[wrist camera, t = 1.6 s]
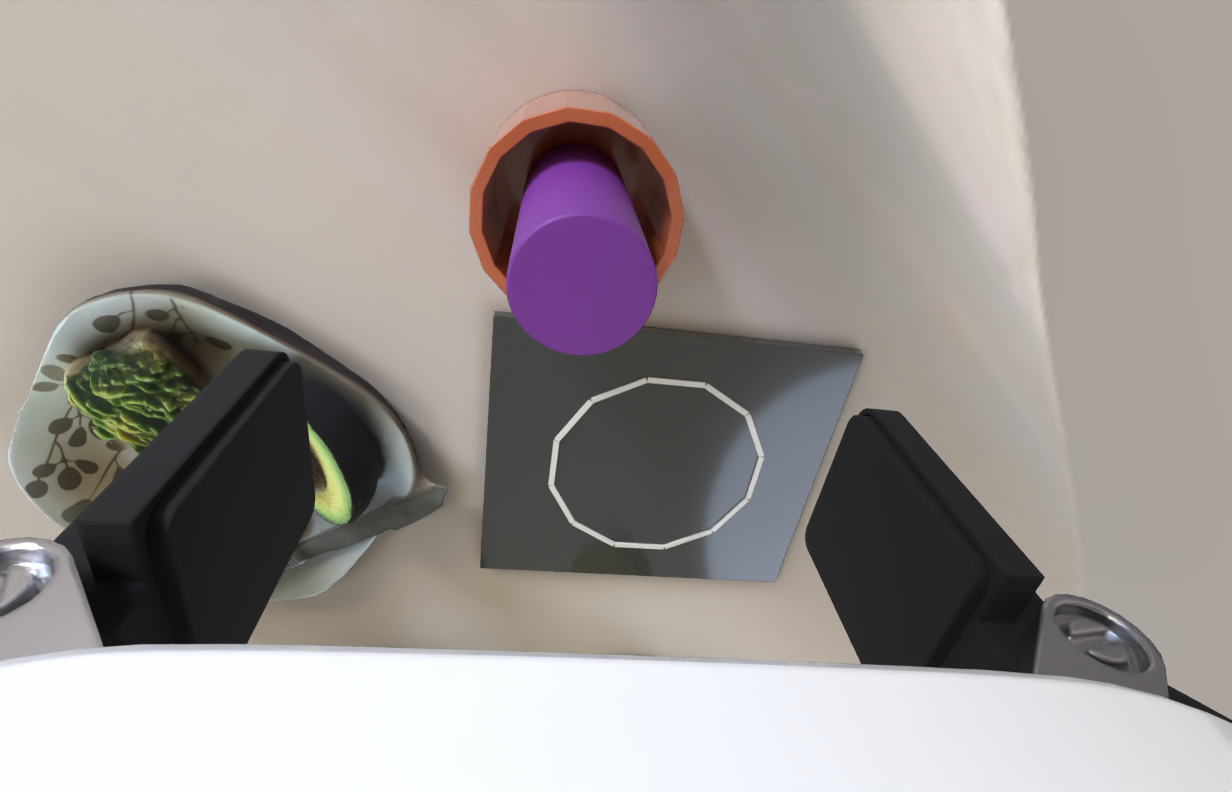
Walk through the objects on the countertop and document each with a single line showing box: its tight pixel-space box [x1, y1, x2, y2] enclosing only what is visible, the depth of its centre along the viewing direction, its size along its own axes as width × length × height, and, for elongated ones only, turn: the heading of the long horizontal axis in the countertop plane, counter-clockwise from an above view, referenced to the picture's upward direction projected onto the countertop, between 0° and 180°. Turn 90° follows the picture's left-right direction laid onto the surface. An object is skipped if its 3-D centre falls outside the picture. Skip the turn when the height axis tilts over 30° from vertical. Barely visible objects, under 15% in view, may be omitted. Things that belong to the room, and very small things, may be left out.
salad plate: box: [8, 285, 448, 601], centre depth 31 cm, size 19×18×5 cm
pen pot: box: [469, 90, 684, 295], centre depth 24 cm, size 7×7×6 cm
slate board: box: [480, 311, 863, 582], centre depth 34 cm, size 16×18×1 cm
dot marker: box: [506, 143, 658, 356], centre depth 21 cm, size 4×4×11 cm
